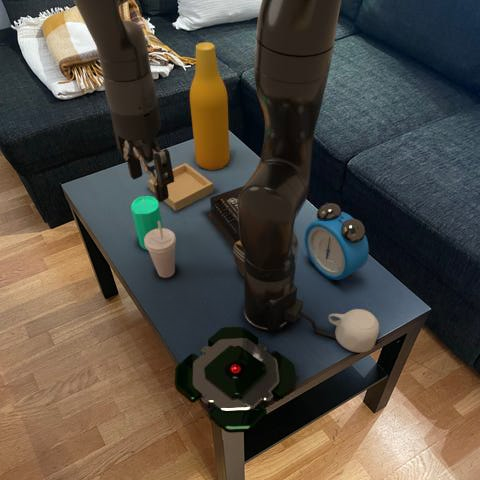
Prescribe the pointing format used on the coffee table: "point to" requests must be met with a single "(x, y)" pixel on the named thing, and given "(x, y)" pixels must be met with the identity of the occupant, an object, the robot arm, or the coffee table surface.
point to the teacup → (356, 330)
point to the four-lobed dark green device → (235, 378)
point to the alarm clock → (336, 242)
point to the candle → (145, 216)
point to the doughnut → (239, 257)
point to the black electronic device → (226, 215)
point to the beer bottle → (209, 111)
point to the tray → (185, 187)
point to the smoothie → (162, 250)
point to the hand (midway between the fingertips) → (149, 188)
